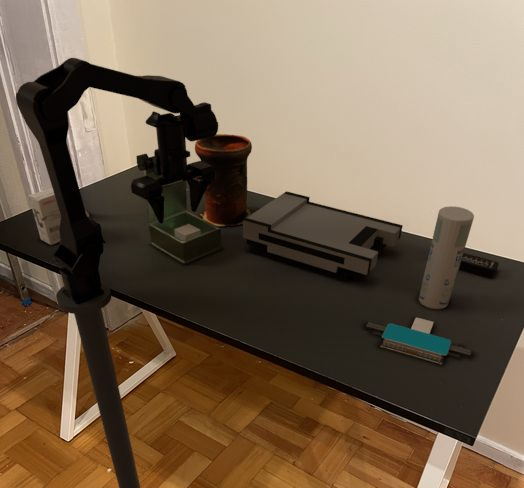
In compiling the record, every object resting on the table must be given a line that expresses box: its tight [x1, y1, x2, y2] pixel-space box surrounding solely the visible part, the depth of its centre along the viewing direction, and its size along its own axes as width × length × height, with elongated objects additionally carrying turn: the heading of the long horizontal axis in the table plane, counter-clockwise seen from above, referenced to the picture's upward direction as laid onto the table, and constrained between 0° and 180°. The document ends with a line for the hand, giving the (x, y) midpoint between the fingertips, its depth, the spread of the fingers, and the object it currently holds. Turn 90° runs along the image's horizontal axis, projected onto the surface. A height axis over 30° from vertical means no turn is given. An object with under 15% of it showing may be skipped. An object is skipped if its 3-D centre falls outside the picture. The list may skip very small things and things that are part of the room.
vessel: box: [194, 133, 253, 227], centre depth 137 cm, size 14×14×20 cm
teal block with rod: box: [365, 317, 472, 366], centre depth 101 cm, size 20×12×2 cm, turn 64°
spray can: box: [418, 206, 475, 310], centre depth 105 cm, size 6×6×20 cm
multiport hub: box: [458, 252, 500, 280], centre depth 123 cm, size 4×14×2 cm, turn 57°
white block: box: [174, 224, 201, 241], centre depth 126 cm, size 4×4×4 cm
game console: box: [242, 190, 403, 282], centre depth 125 cm, size 21×32×8 cm, turn 58°
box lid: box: [143, 170, 188, 224], centre depth 125 cm, size 14×11×5 cm
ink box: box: [28, 187, 61, 246], centre depth 128 cm, size 9×5×12 cm, turn 139°
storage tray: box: [148, 210, 222, 266], centre depth 127 cm, size 13×11×6 cm
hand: (177, 217), depth 117 cm, fingers open, 9 cm apart
